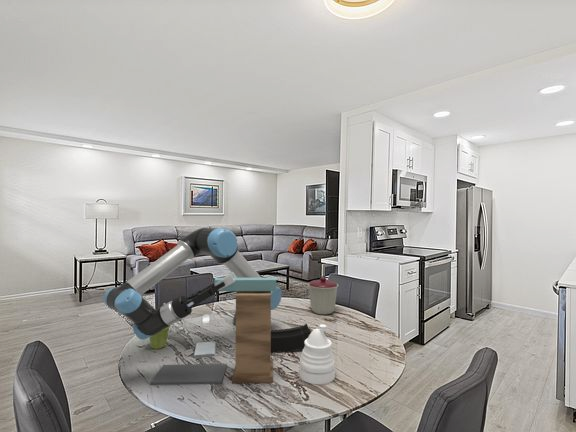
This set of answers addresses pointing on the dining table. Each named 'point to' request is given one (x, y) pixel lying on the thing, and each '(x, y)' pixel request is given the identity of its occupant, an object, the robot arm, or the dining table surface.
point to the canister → (323, 295)
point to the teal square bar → (250, 284)
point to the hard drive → (205, 349)
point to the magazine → (289, 339)
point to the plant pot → (159, 339)
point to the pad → (190, 374)
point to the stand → (253, 338)
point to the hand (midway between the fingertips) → (233, 276)
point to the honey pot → (317, 358)
